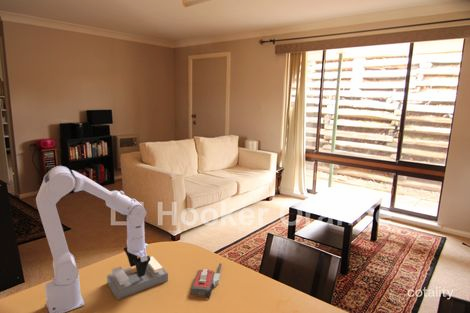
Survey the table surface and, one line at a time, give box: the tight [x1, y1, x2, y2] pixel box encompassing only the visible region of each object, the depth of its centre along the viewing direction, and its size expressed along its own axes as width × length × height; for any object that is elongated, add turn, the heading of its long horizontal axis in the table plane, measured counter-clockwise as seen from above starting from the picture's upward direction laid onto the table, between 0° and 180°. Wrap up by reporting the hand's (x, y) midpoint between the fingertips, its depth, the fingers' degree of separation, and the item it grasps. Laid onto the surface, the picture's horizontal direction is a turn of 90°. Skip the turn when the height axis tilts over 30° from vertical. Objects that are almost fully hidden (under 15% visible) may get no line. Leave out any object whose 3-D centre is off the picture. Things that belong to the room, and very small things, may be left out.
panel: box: [106, 265, 169, 301], centre depth 110 cm, size 18×11×3 cm, turn 128°
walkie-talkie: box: [190, 262, 222, 298], centre depth 112 cm, size 9×4×20 cm
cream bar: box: [148, 256, 164, 273], centre depth 113 cm, size 3×9×1 cm, turn 38°
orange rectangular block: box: [130, 266, 137, 273], centre depth 111 cm, size 3×2×2 cm, turn 128°
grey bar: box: [111, 266, 129, 285], centre depth 105 cm, size 3×9×1 cm, turn 38°
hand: (137, 270), depth 109 cm, fingers open, 7 cm apart
